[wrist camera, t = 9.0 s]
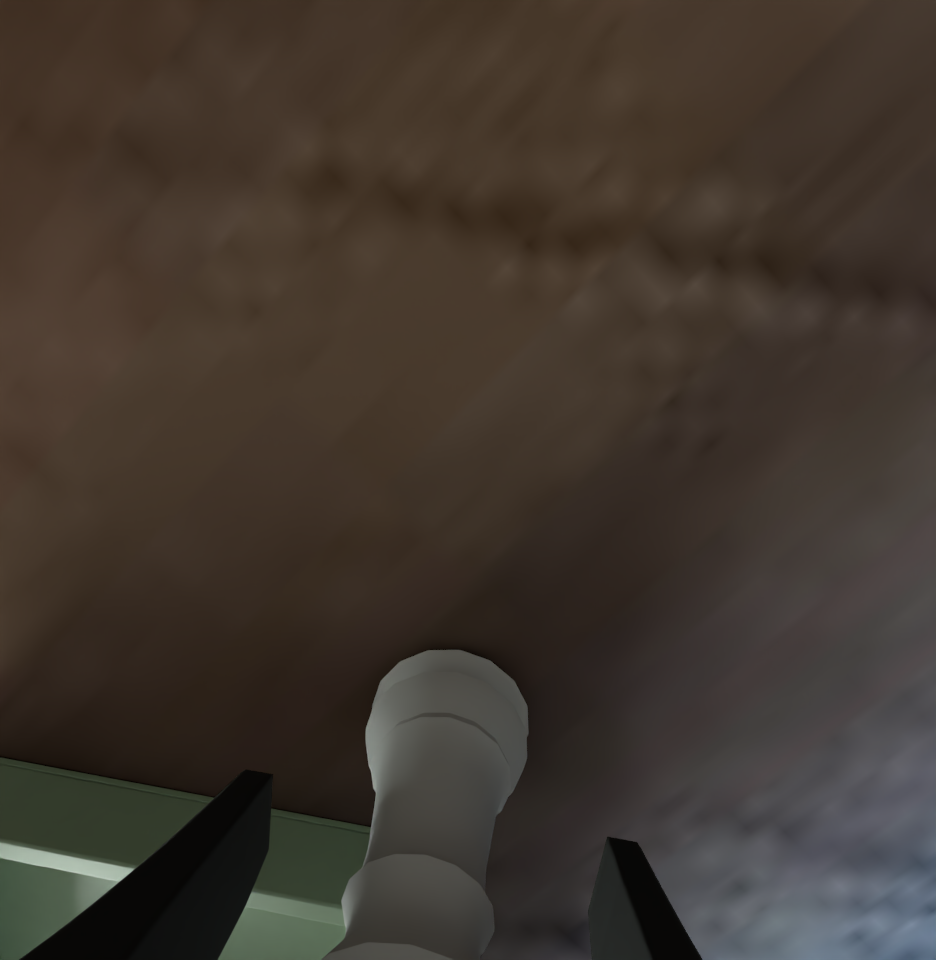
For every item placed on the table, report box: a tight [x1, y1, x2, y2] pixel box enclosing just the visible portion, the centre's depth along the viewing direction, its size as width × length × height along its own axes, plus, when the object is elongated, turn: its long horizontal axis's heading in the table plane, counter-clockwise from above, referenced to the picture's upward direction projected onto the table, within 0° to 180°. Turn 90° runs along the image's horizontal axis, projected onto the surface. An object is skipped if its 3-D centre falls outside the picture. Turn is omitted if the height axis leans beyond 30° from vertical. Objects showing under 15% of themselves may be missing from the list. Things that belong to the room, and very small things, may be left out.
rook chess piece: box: [321, 650, 529, 960], centre depth 10 cm, size 4×4×8 cm
